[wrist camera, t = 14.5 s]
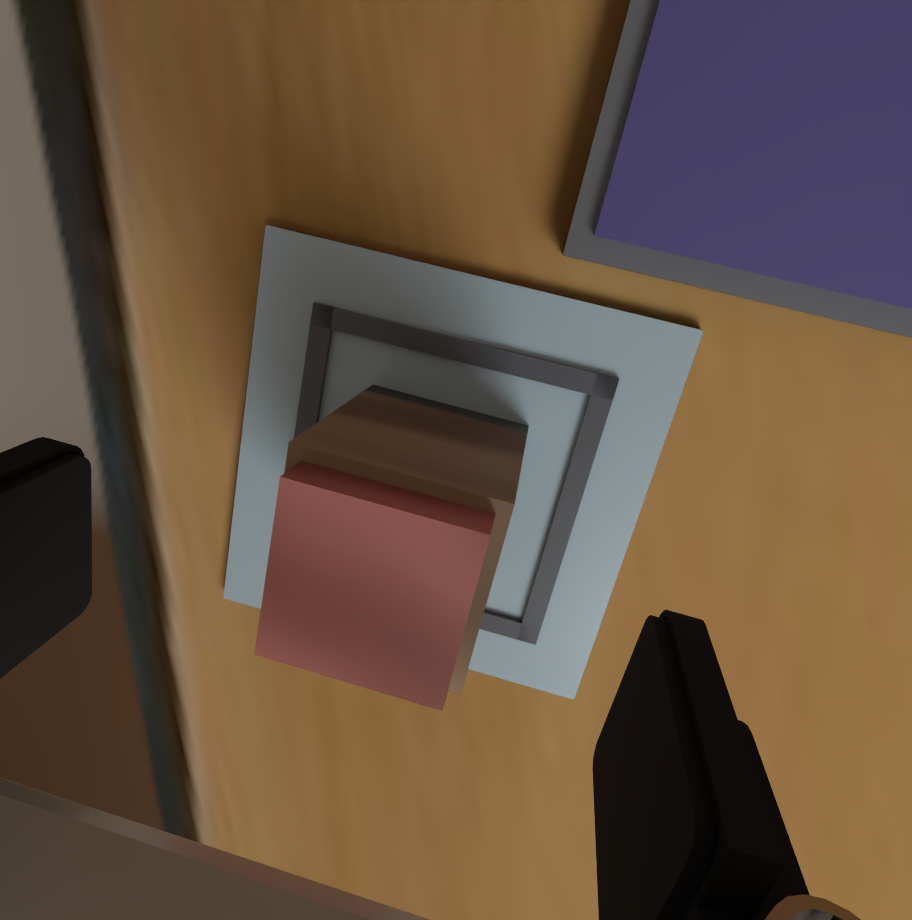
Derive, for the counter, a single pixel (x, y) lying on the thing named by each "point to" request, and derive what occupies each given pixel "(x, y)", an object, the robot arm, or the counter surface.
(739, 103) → the ink pad
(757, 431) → the counter surface
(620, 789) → the robot arm
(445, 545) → the stamp
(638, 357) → the light grey flat square
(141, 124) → the counter surface
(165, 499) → the counter surface
